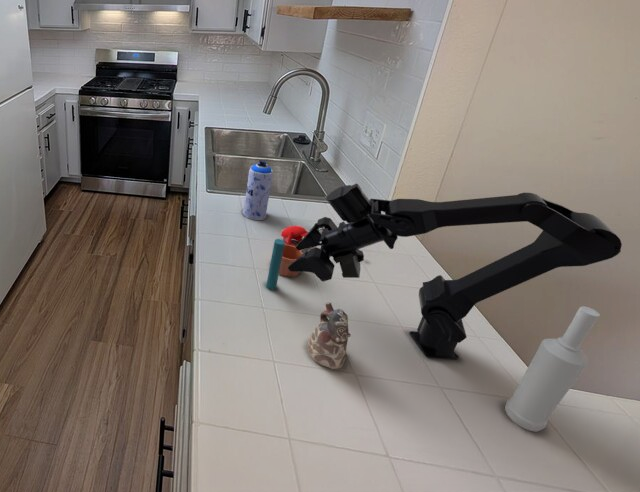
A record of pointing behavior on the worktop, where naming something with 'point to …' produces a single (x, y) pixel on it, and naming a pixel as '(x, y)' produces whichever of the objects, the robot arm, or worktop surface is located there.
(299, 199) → the worktop surface
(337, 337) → the figurine
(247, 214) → the aerosol can
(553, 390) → the bottle
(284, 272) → the tumbler
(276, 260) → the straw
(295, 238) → the red toy animal
